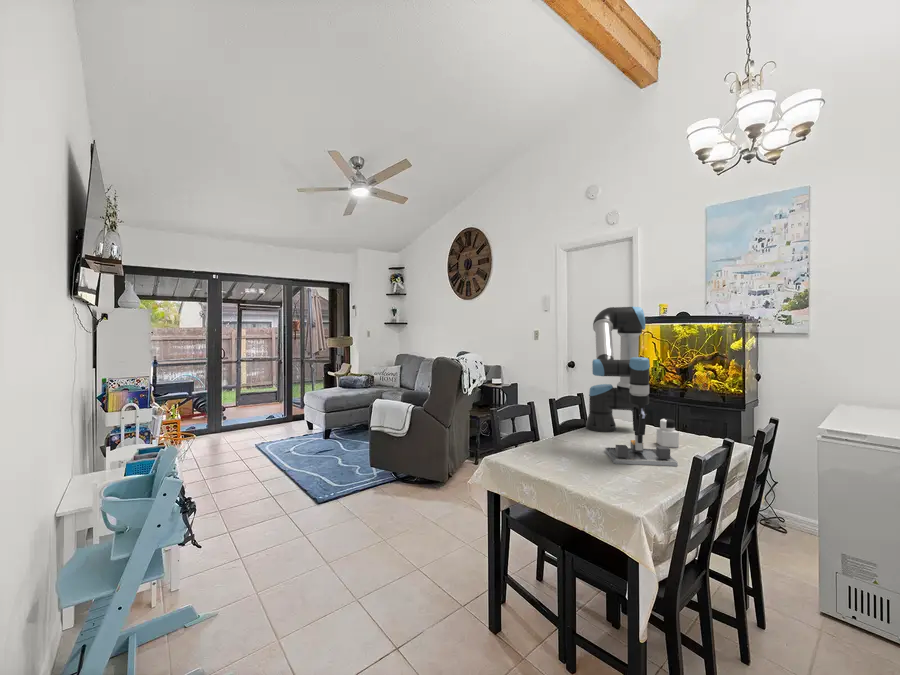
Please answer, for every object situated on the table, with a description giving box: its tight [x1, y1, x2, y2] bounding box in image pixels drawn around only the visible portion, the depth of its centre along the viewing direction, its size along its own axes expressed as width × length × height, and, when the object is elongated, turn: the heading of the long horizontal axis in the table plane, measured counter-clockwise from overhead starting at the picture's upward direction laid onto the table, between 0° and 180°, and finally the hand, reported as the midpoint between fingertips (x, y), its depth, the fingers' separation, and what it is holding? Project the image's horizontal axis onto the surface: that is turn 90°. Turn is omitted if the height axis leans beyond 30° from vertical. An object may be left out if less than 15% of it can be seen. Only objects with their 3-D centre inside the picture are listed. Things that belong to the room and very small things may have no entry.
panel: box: [604, 447, 679, 467], centre depth 171 cm, size 16×24×2 cm, turn 81°
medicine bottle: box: [655, 418, 680, 448], centre depth 188 cm, size 7×7×12 cm
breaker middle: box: [630, 439, 643, 452], centre depth 174 cm, size 4×4×4 cm
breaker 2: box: [655, 445, 671, 459], centre depth 166 cm, size 4×4×4 cm
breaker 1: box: [615, 444, 629, 458], centre depth 168 cm, size 4×4×4 cm
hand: (638, 449), depth 172 cm, fingers closed
